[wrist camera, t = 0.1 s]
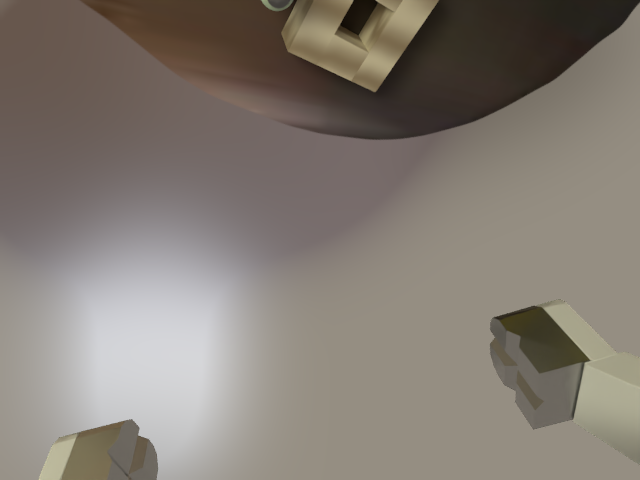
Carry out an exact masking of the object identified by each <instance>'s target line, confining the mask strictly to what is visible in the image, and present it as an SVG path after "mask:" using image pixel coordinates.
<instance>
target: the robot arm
mask: <svg viewBox="0 0 640 480" xmlns="http://www.w3.org/2000/svg"><path fill="white" fill-rule="evenodd" d="M490 330H491V332H492V333H493V335H494V336H495V338H494V340H493V341H492V342H491V343H490V353H491V358H492V361H493V365H494V367H495V369H496V371H497V374H498V376H499V377H500V379H501V380H502V382H503V384H504V385H505V386H507V387H509V388H511V389H513V390H515V391H516V401H515V402H516V404H517V405H518V407H519V408H520V410H521V412H522V413H523V415H524V416H525V418H526V419H527V421H528V422H529V424H530V425H531V427H532V428H533V429H537V428H541V427H545V426H549V425H553V424H557V423H561V422H564V421H568V420H573V422H574V423H576V424H578V425H579V426H581V427H582V428H584V429H585V430H587V431H588V432H590V433H591V434H593V435H594V436H596V437H597V438H599V439H601V440H602V441H604V442H605V443H607V444H608V445H610V446H611V447H613V448H614V449H616V450H618V451H619V452H621V453H622V454H624V455H625V456H627V457H628V458H630V459H631V460H633V461H634V462H636V463H638V464H639V465H640V358H639V357H637V356H634V355H632V354H629V353H627V352H622V353H617V352H616V351H615V350H614V349H612V347H611V346H610V345H609V344H608V343H607V342H606V341H605V340H603V338H602V337H601V336H599V335H598V333H596V332H595V331H594V330H593V329H592V328H591V327H590V326H589V325H588V324H587V323H586V322H585V321H584V320H583V319H582V318H581V317H580V316H579V315H578V314H577V313H576V312H575V311H574V310H573V309H572V308H571V307H570V306H569V305H568V304H567V303H566V302H565V301H563V300H561V299H558V300H554V301H550V302H547V303H544V304H540V305H537V306H531V307H528V308H525V309H521V310H518V311H514V312H511V313H507V314H504V315H500V316H497V317H494V318H492V320H491V323H490ZM138 432H139V427H138V425H136V423H135V422H134V421H133V420H132V419H131V420H126V421H122V422H118V423H114V424H110V425H106V426H102V427H98V428H94V429H90V430H86V431H82V432H79V433H75V434H71V435H67V436H63V437H59V439H58V440H57V441H56V442H55V443H54V444H53V445H52V448H51V450H50V452H49V455H48V457H47V460H46V462H45V465H44V467H43V469H42V472H41V474H40V477H39V479H38V480H156V478H157V472H158V463H157V454H156V452H155V449H154V446H153V444H152V443H151V442H150V440H149V439H146V438H144V437H141V436H138Z"/></svg>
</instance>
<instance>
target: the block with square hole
mask: <svg viewBox="0 0 640 480" xmlns="http://www.w3.org/2000/svg"><path fill="white" fill-rule="evenodd" d="M376 1H377V2H378V4H377V5H376V7H375V9H374V10H373V12H372V14H371V15H370V17H369V19H368V20H367V22H366V24H365V25H364V27H363V28H362V30H361V32H360V33H359V35H357V34H355V33H353V32H351V31H350V30H348V29H346V28H344V27H342V26H340V23H341V22H342V20H343V18H344V16H345V15H346V13H347V11H348V9H349V7H350V6H351V4H352V2H353V0H297V2H296V4H295V6H294V8H293V10H292V12H291V14H290V16H289V18H288V20H287V22H286V24H285V26H284V28H283V30H282V33H281V34H282V37H283V39H284V42H285V45H286V48H287V50H288V52H290V53H292V54H294V55H296V56H299V57H301V58H303V59H305V60H307V61H309V62H311V63H314V64H316V65H318V66H320V67H322V68H324V69H326V70H329V71H331V72H333V73H335V74H337V75H339V76H341V77H343V78H346V79H348V80H350V81H352V82H354V83H356V84H358V85H361V86H363V87H365V88H367V89H369V90H371V91H373V92H376V91H377V89H378V88H379V86H380V85H381V84H382V82H383V81H384V79H385V78H386V76H387V75H388V73H389V72H390V71H391V69H392V68H393V66H394V65H395V63H396V62H397V60H398V59H399V57H400V56H401V55H402V53H403V52H404V50H405V49H406V47H407V46H408V44H409V43H410V42H411V40H412V39H413V37H414V36H415V34H416V33H417V31H418V30H419V28H420V27H421V26H422V24H423V23H424V21H425V20H426V18H427V17H428V15H429V14H430V13H431V11H432V10H433V8H434V7H435V5H436V4H437V2H438V1H439V0H376Z"/></svg>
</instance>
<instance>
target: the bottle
mask: <svg viewBox="0 0 640 480" xmlns="http://www.w3.org/2000/svg"><path fill="white" fill-rule="evenodd" d="M262 2H263V4H264V5H265V6H266V7H267V8H269V9H271V10H274V11H281V10H284V9H286V8H287V7H289V6H290V5H291V3H292V2H293V0H262Z"/></svg>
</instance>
